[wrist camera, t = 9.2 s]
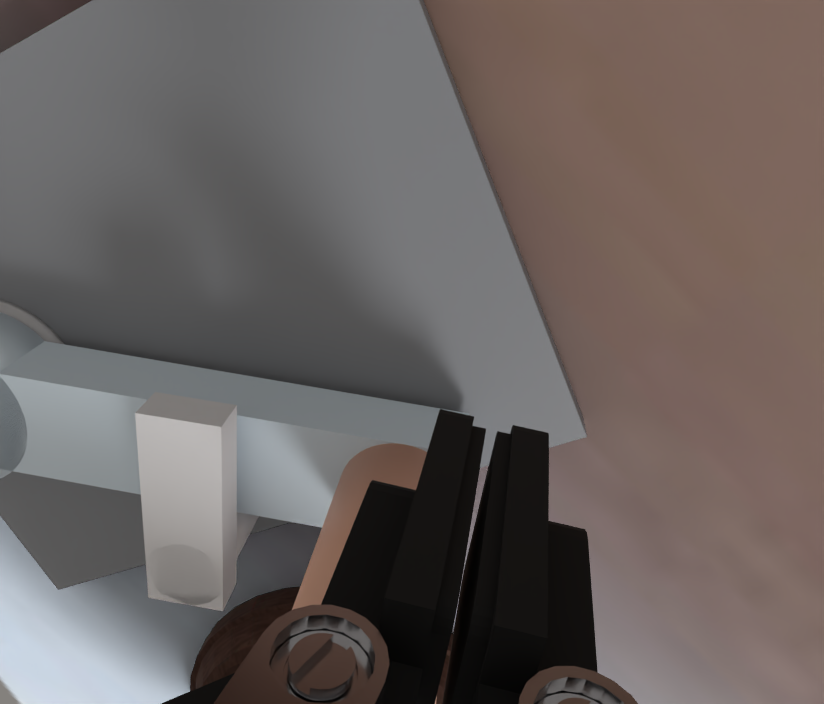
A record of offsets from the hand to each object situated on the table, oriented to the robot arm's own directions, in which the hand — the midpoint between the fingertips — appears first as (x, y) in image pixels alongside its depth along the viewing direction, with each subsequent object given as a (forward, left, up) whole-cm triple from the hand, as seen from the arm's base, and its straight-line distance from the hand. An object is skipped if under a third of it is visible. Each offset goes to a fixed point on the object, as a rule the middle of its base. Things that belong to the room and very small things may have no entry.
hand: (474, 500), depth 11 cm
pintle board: (+8, -3, -9) cm, 12 cm away
